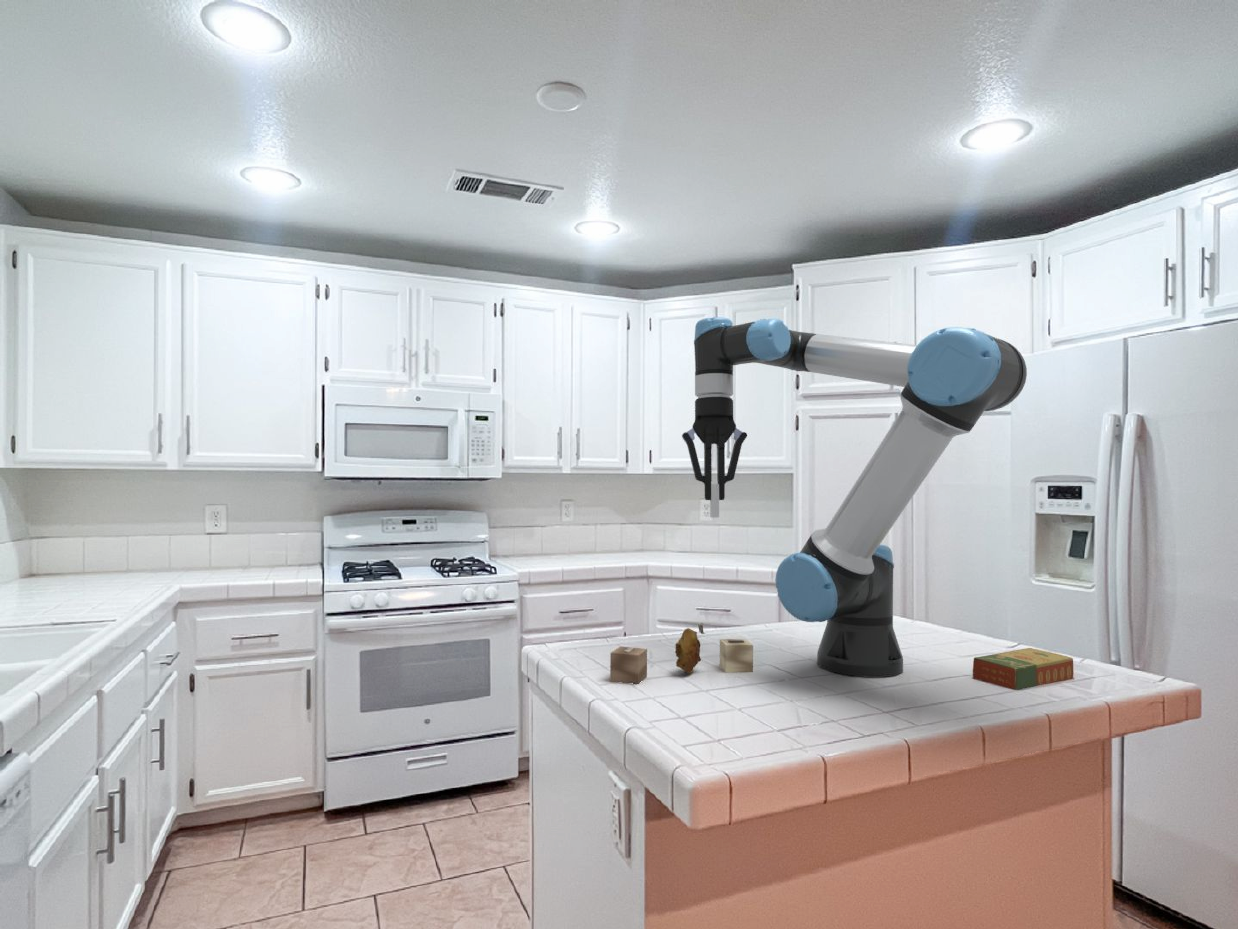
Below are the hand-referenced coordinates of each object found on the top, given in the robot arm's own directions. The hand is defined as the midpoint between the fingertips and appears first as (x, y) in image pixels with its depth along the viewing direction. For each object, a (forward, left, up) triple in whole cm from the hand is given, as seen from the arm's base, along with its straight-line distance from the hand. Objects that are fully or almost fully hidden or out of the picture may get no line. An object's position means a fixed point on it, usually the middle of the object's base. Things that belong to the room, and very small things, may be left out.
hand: (714, 517), depth 144 cm
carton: (-54, +10, -28) cm, 61 cm away
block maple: (-4, +10, -27) cm, 29 cm away
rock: (+5, +13, -28) cm, 31 cm away
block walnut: (+15, +19, -27) cm, 36 cm away
